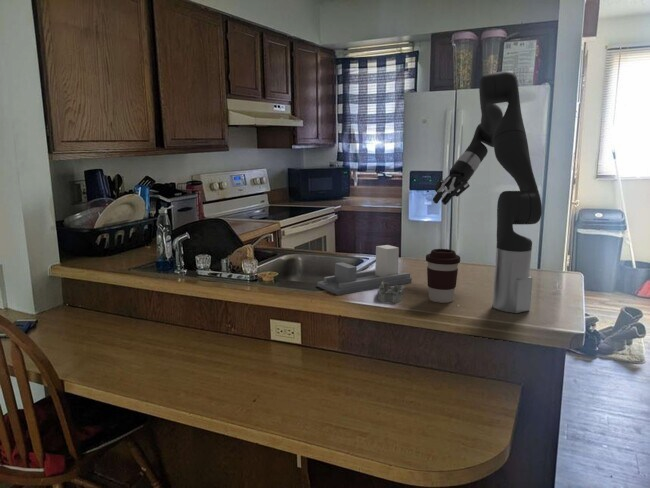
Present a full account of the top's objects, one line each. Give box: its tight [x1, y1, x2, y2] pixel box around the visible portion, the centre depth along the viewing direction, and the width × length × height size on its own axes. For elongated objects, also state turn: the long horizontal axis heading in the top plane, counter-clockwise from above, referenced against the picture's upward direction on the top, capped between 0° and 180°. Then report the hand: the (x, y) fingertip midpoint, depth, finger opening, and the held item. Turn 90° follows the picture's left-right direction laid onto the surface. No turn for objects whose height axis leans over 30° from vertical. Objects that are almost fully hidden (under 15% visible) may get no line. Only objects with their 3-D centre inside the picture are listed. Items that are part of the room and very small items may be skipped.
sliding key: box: [375, 244, 400, 277], centre depth 173 cm, size 6×5×10 cm
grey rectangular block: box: [334, 262, 358, 283], centre depth 165 cm, size 8×4×6 cm, turn 32°
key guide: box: [316, 269, 413, 296], centre depth 169 cm, size 12×30×3 cm, turn 122°
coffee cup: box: [425, 248, 461, 304], centre depth 151 cm, size 10×10×15 cm
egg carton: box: [376, 281, 405, 303], centre depth 155 cm, size 11×8×4 cm
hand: (439, 202), depth 179 cm, fingers open, 3 cm apart
